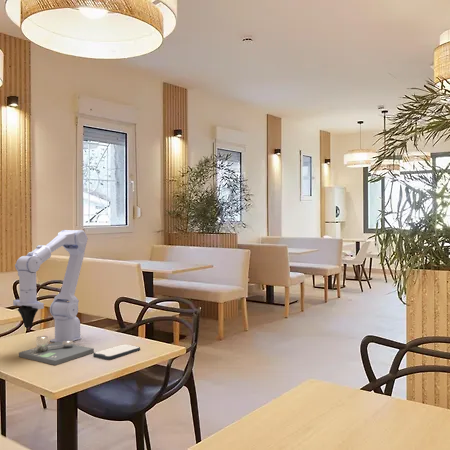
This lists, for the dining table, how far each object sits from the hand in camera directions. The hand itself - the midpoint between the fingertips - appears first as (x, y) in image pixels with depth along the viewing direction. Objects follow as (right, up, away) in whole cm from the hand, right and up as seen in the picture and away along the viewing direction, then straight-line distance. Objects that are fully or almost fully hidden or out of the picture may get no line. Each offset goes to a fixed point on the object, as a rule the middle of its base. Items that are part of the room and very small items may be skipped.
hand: (28, 327), depth 176 cm
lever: (+9, -7, -1) cm, 12 cm away
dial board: (+11, -9, -2) cm, 15 cm away
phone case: (+32, -10, 0) cm, 34 cm away
